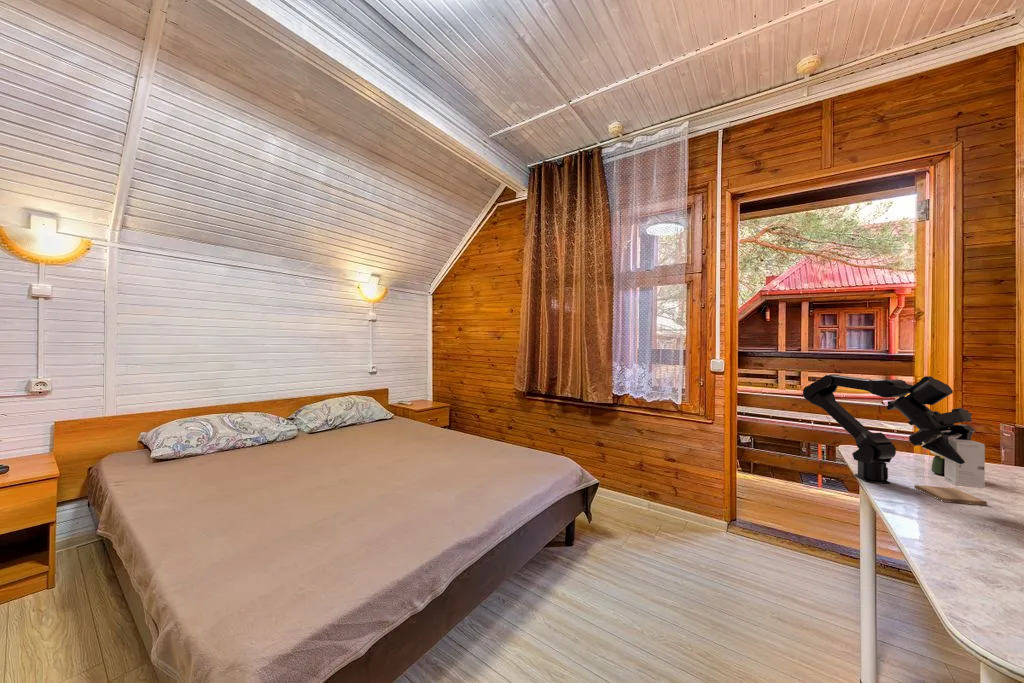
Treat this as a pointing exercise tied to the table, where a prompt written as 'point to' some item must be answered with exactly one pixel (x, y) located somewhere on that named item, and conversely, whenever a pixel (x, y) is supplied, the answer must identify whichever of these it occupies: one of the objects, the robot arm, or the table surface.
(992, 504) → the table surface
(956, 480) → the skincare box
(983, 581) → the table surface
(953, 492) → the walnut coaster
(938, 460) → the character mug
